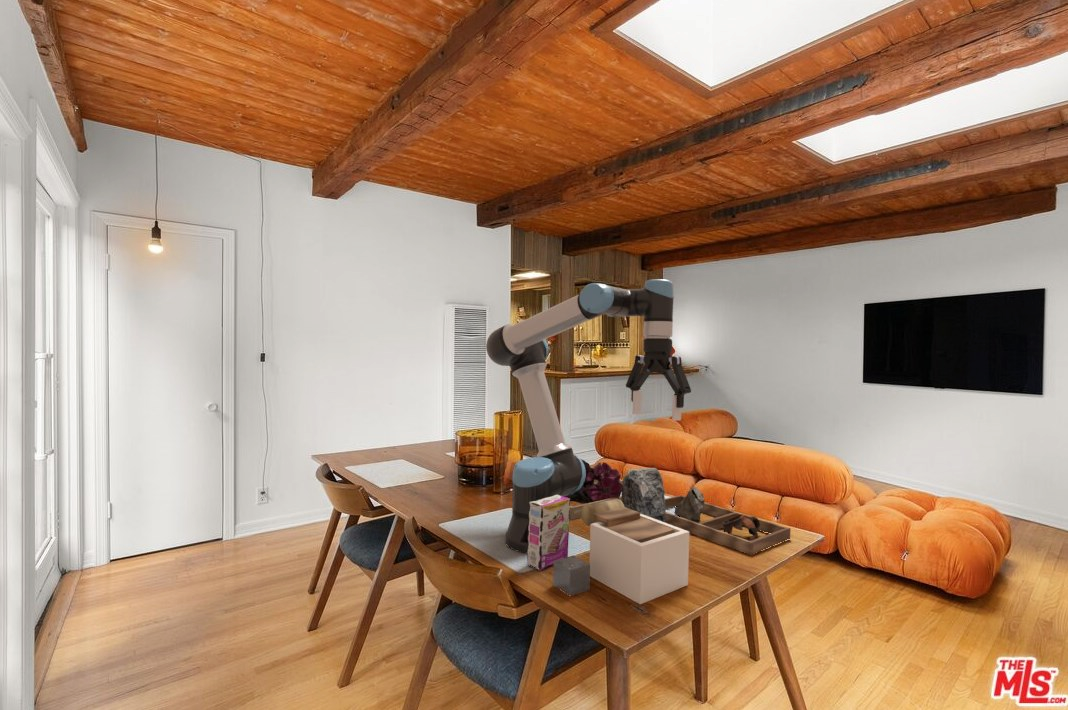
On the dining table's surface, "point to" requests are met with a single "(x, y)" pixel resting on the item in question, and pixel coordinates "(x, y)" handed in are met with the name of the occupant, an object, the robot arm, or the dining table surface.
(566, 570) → the iron block
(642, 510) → the stone block
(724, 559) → the dining table surface
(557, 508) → the candy bar box
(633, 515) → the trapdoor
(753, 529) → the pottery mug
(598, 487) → the flower arrangement
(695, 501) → the concrete fragment
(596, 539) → the white open box
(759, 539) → the walnut tray
